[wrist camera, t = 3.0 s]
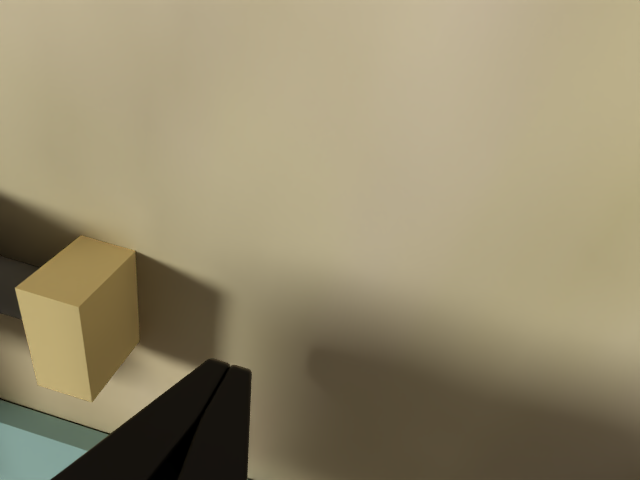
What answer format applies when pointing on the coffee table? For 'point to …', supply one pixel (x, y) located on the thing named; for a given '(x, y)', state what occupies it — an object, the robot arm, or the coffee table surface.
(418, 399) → the coffee table surface
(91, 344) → the plug
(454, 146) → the coffee table surface
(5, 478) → the mat
